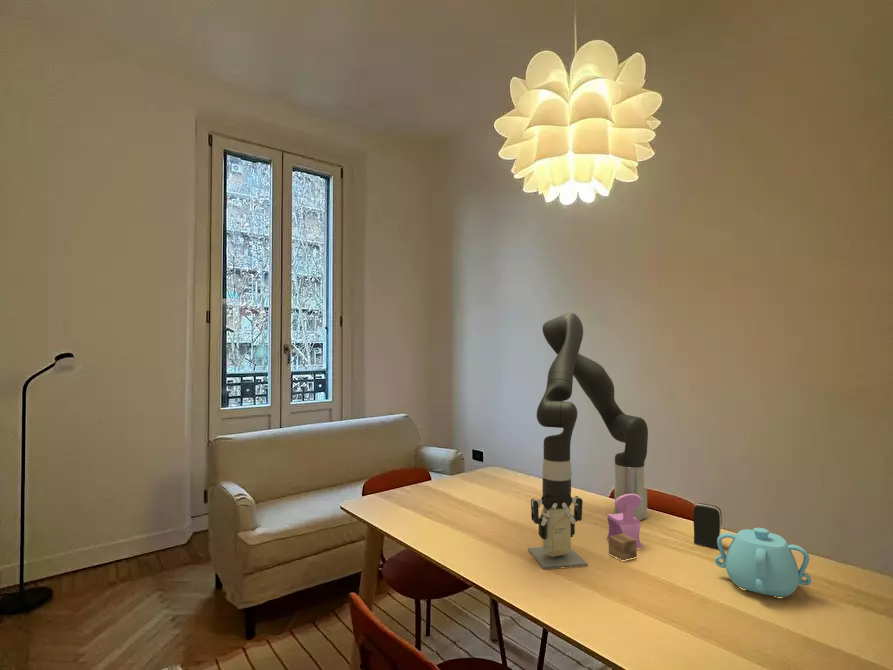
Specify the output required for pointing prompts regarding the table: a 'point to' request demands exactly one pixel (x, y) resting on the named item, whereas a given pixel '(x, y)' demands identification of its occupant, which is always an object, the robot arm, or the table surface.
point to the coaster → (556, 559)
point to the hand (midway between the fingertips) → (556, 537)
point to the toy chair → (625, 518)
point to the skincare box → (557, 532)
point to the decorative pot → (762, 562)
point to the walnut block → (622, 546)
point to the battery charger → (707, 524)
